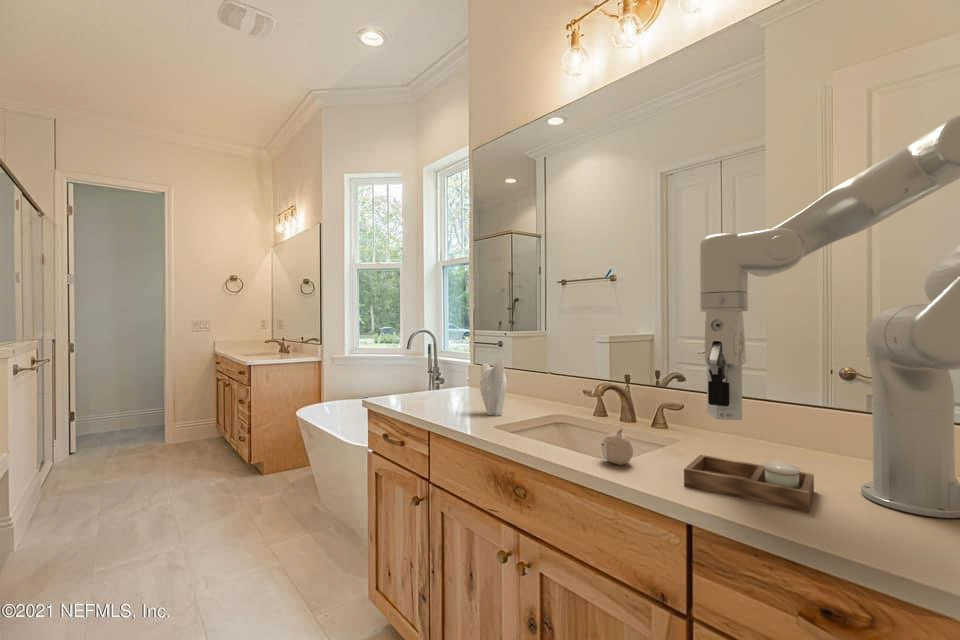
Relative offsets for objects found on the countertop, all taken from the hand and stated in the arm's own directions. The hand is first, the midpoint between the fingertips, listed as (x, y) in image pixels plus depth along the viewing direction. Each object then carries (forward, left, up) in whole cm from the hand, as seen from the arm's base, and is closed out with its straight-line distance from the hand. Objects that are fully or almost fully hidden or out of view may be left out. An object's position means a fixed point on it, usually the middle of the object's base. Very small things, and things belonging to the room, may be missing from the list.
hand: (723, 401), depth 81 cm
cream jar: (-9, 0, -15) cm, 17 cm away
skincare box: (0, 0, -3) cm, 3 cm away
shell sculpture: (+70, -22, -15) cm, 75 cm away
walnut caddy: (-4, 0, -15) cm, 15 cm away
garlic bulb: (+20, 0, -15) cm, 25 cm away
